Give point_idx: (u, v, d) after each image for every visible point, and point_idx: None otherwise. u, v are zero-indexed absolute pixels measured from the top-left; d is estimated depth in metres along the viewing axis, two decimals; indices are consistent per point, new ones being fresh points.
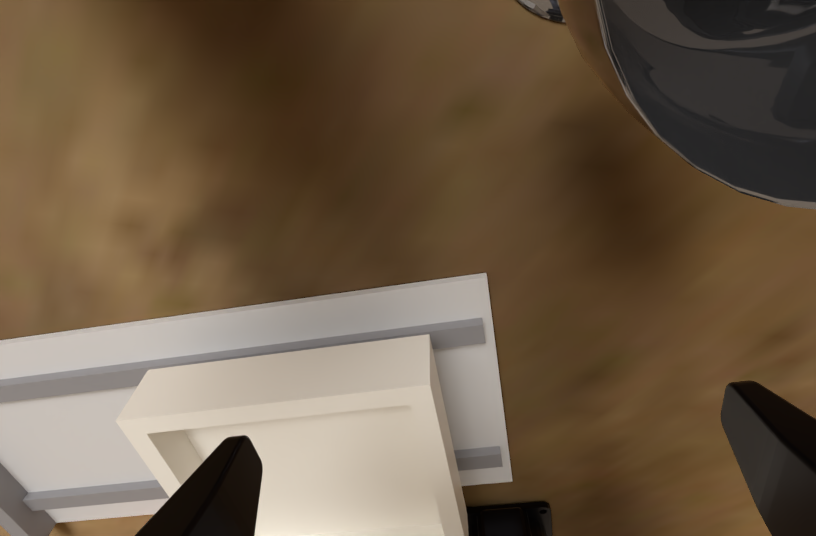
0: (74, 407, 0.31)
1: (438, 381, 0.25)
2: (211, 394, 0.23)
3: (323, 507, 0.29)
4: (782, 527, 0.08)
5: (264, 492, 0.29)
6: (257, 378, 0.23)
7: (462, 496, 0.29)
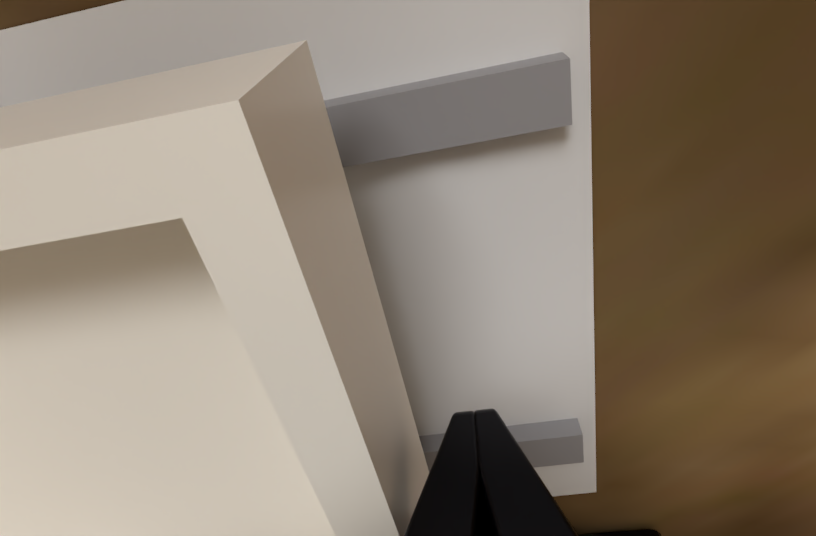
0: None
1: (353, 219, 0.08)
2: None
3: None
4: None
5: None
6: None
7: None
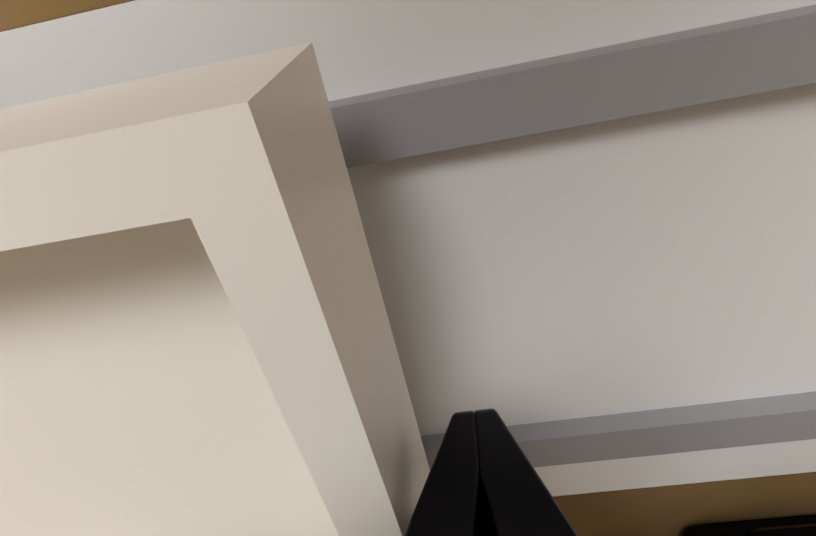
0: None
1: (356, 220, 0.09)
2: None
3: None
4: None
5: None
6: None
7: None
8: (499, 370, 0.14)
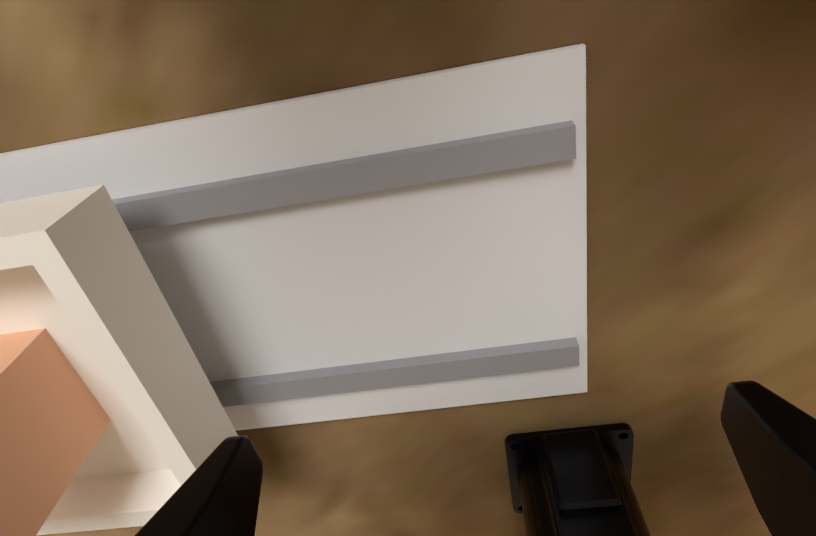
0: None
1: (136, 258, 0.18)
2: None
3: None
4: (782, 527, 0.08)
5: None
6: None
7: (226, 430, 0.23)
8: (366, 325, 0.23)
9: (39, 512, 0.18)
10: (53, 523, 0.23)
